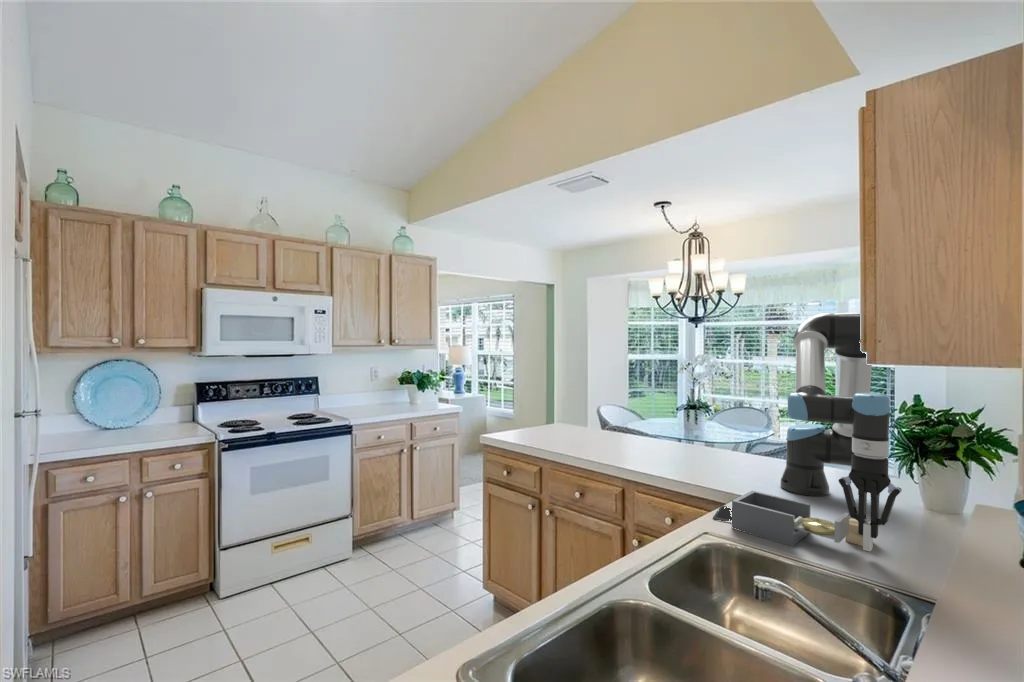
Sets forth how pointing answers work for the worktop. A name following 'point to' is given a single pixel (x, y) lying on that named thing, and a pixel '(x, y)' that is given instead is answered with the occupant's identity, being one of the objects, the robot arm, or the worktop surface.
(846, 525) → the grey i-beam
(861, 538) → the pedestal
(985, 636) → the worktop surface
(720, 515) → the cell phone
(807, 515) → the box
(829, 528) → the disc
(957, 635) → the worktop surface
